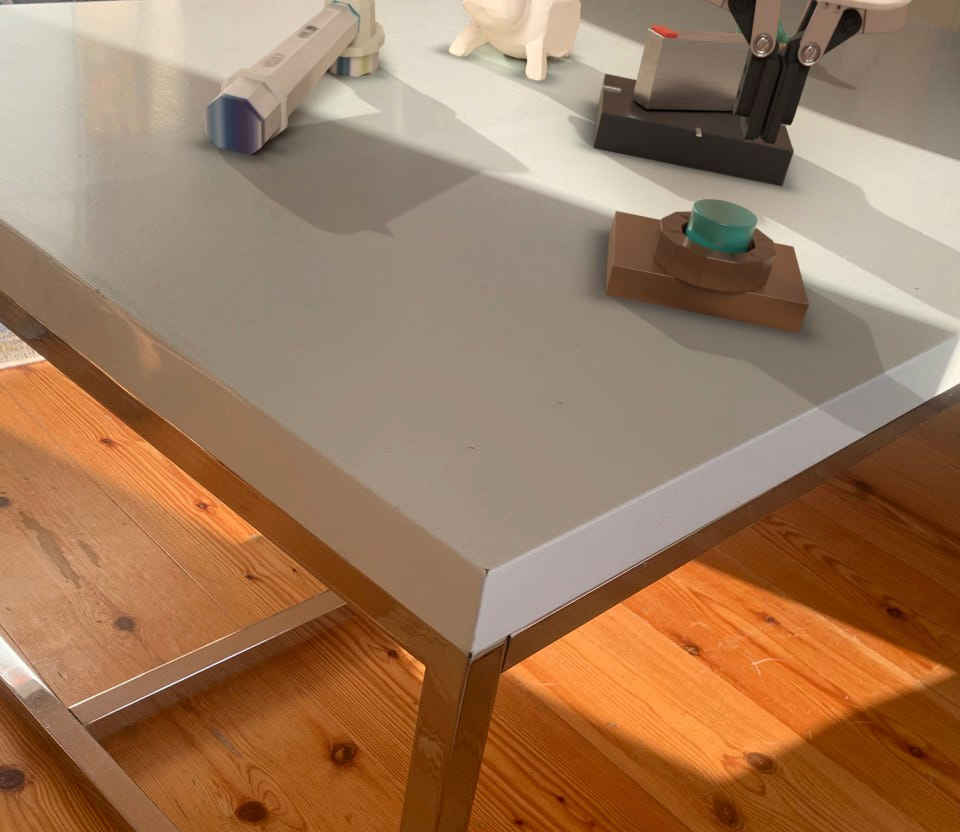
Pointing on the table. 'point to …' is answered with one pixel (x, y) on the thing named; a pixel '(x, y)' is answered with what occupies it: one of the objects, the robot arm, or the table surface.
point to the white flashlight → (293, 74)
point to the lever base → (686, 137)
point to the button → (721, 226)
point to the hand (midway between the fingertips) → (756, 132)
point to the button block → (704, 273)
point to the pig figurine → (521, 30)
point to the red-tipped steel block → (690, 70)
